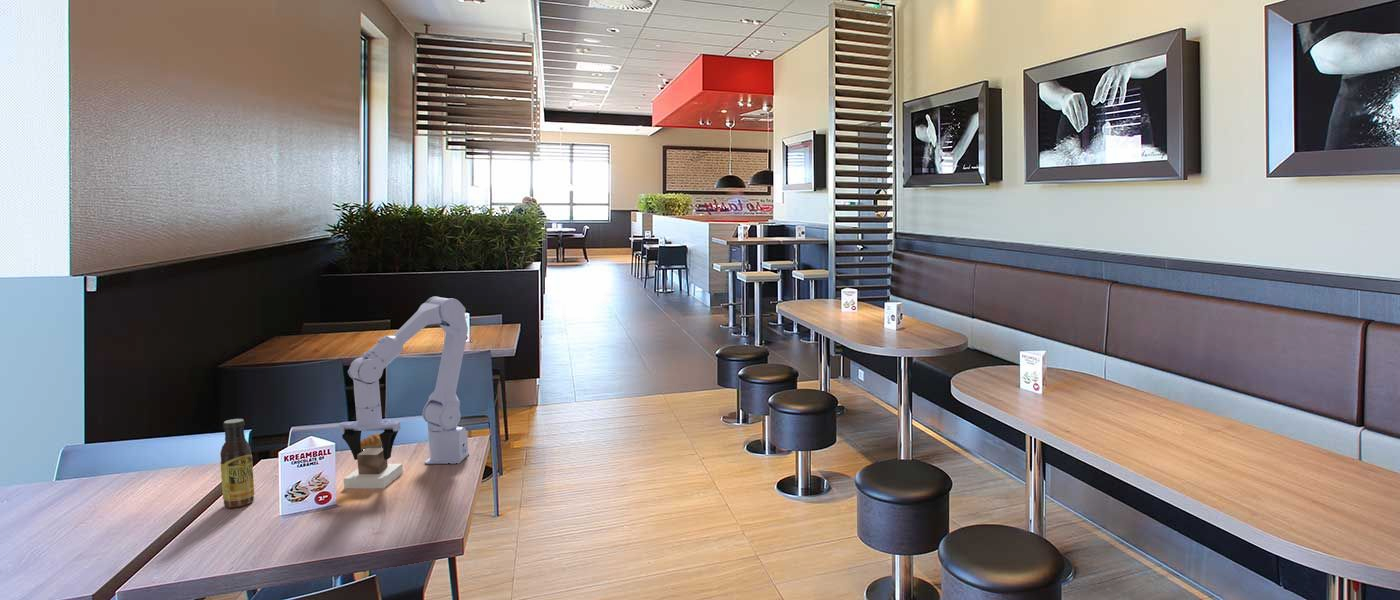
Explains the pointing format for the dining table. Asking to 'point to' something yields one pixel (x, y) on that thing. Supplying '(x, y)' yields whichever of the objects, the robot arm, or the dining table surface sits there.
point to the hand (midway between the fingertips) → (372, 458)
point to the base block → (373, 478)
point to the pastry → (371, 442)
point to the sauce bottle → (236, 466)
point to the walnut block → (371, 461)
